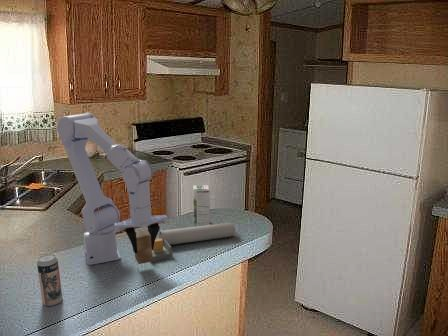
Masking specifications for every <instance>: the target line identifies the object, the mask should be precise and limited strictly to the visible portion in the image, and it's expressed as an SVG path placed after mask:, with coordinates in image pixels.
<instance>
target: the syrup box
mask: <svg viewBox="0 0 448 336" xmlns="http://www.w3.org/2000/svg"><path fill="white" fill-rule="evenodd" d="M192 189H193V190H192V191H193V197H192V199H193V200H192V204H193V207H192V208H193V227H196V226H204V225H211V207H210V205H211V202H210V197H211V196H210V194H211V193H210V185H209V184H193V187H192Z"/></svg>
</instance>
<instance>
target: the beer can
mask: <svg viewBox="0 0 448 336" xmlns="http://www.w3.org/2000/svg"><path fill="white" fill-rule="evenodd" d="M36 265H37V273H38V281H39V288H40V295H41V301H42V302H41V303H42V305H44V306H48V307H50V306H56V305H58V304H59V303H61V302H62V300H63V298H64V297H63V293H62V283H61V278H60V268H59V260H58V257H56V255H55V254H52V253H51V254H50V253H49V254H45V255H41V256H39V258H38V259H37V261H36Z"/></svg>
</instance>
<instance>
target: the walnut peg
mask: <svg viewBox="0 0 448 336" xmlns="http://www.w3.org/2000/svg"><path fill="white" fill-rule="evenodd" d="M135 232H136V245H137V253H134V257H135V261H136V263H137V264H138V265H140V264H141V265H142V264H146V263H152V246H151V235H150V233H149V232H148V229H146V230H141V231H135Z"/></svg>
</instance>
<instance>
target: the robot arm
mask: <svg viewBox="0 0 448 336" xmlns="http://www.w3.org/2000/svg"><path fill="white" fill-rule="evenodd" d="M56 131H57V133H58V136H59V138H60V141H61V144H62V146H63V147H64V150H65V153H66V155H67V157H68V158H67V159H68V160H69V162H70V165H71V168H72V170H73V173H74V175H75V179H76V180H77V183H78V185H79V188H80V190H81V193H82V195H83V198H84V200H85V204H84V206H83V208H82V209H81V211H80V212H81V216H82V223H83V226H84V228H85V229H86V231H85V232H83V242H84V243H83V244H84V257H85V258H86V262H87V265H88V266H92V265H98V264H103V263H107V262H112V261H118V260H121V259H122V258H121V255H120V253H119V251H118V247H117V245H118V244H117V234H116V233H118V232H120V231H125V232H124V233H126V235H127V236H128V239H129V241H130V243H131V246H132V251H133V254H135V253H137V245H136V232H137V231H136V230H135V229H136V228H147V230H148V232H149V233H150V235H151V246H152V250H153V248H154V243H155V239H156V238H157V236H158V235H159V233H160V230H161V229H160V228H161V226H160V225H161V224H168V216H167V215H166V214H163V215H162V214H161V215H152V205H151V204H152V203H151V192H150V191H151V190H150V180H151V179H152V178H153V176H154V170H153V167H152V165H151V163H150V162H149V161H148V160H145V159H141V158H138V157H136V156H135V155H134V154H133V153H132V152H131V151H130V150H129V149H128V148H127V146H126V145H125V144H124V145H123V144H119V143H118V144H117V143H115V141H114V140H112V138H111V137H110V136H109V135H108V134H107V133H106V132H105V131H104V130H103V128H102V127H101V126H100V124H99V119H98V118H96V117H95V116H94V114H92V113H91V112H85V113H80V114H72V115H63V116H60V117H59V118H58V121H57V125H56ZM89 141H92V142H93V143H94V145H96V146H97V147H99V148H101V150H102V151H104V152H105V153H106V154H107V155H106V158H107V160H108V161H109V162H110V164H112V165H113V166H114V167H115V168H116V169H117V170H118V171H119V172H120V173H122V175H121V177H122V179H123V182H124V184H125V185H126V190H127V193H128V201H129V202H128V203H129V217H130V218H129V219H125V220H122V221H121V220H120V219H121V213H120V211H119V209H118V207H117V206H116V204H114V200H113V199H111V198H109V197H107V196H105V195H104V192H103V190H102V188H101V185H100V183H99V181H98V178H97V175H96V173H95V170H94V168H93V165H92V163H91V161H90V157H89V154H88V153H87V150H86V145H87V144H88V142H89Z"/></svg>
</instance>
